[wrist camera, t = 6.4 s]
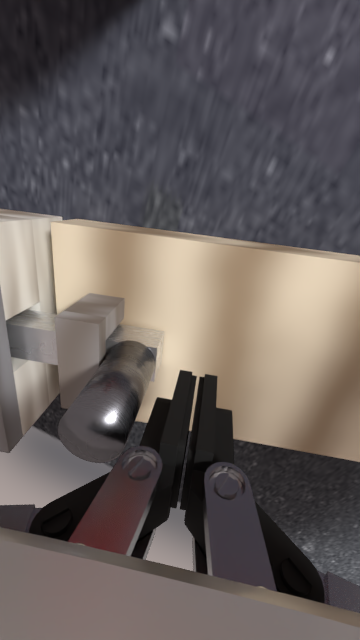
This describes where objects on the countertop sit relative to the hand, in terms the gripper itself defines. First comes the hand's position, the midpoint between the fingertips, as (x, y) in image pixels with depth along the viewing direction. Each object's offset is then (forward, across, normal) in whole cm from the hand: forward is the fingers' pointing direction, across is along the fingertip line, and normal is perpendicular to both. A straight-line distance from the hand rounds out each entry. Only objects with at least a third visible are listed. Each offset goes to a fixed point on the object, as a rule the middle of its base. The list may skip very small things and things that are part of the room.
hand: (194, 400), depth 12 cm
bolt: (+4, +9, 0) cm, 10 cm away
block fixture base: (+7, +3, 0) cm, 8 cm away
